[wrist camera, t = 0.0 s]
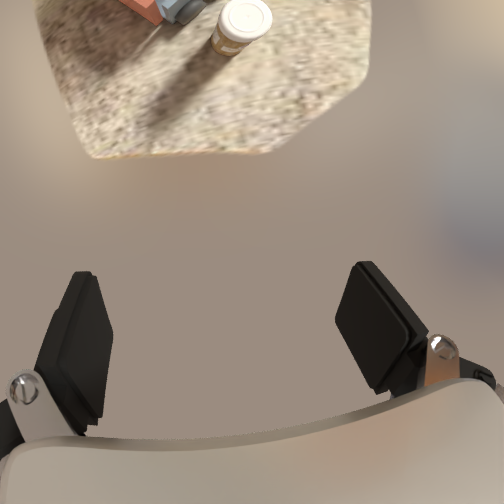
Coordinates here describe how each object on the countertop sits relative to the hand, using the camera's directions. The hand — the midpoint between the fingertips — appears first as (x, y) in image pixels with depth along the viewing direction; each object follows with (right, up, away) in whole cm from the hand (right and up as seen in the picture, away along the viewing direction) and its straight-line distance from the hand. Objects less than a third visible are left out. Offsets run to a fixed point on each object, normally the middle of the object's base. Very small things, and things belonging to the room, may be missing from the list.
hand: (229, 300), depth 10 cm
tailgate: (-14, +32, +13) cm, 37 cm away
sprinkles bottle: (-2, +29, +19) cm, 34 cm away
